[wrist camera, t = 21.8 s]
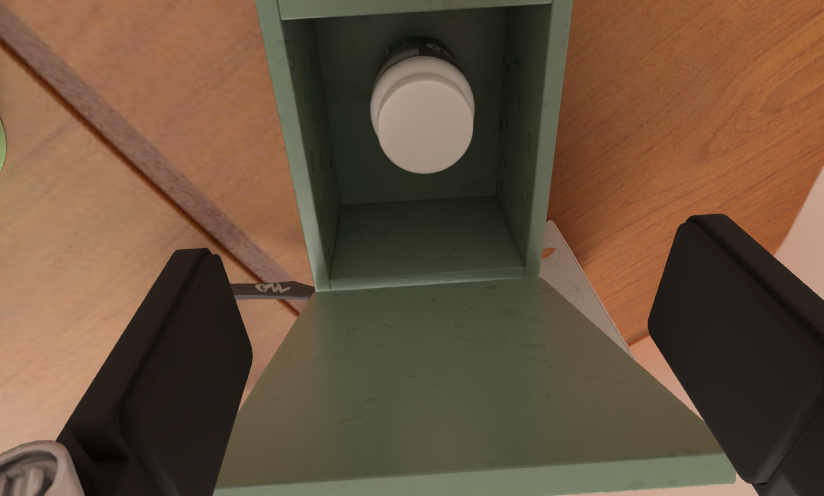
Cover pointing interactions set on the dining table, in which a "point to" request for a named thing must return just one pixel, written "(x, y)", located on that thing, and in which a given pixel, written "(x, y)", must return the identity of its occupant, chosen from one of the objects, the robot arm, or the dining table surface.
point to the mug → (2, 145)
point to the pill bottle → (422, 105)
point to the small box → (575, 283)
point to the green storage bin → (398, 188)
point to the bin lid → (460, 402)
